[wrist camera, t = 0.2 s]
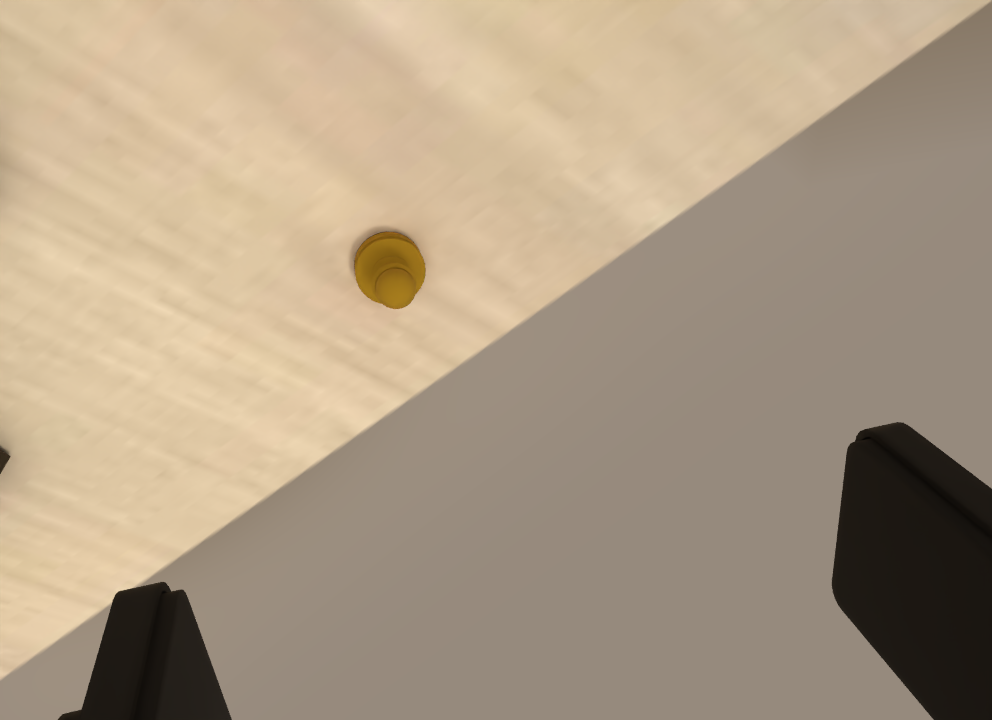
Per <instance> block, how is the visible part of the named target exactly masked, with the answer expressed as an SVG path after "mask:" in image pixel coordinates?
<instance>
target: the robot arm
mask: <svg viewBox="0 0 992 720" xmlns="http://www.w3.org/2000/svg"><path fill="white" fill-rule="evenodd" d="M832 589H833V594H834V597H835V599H836V601H837V603H838V605H839V607H840V608H841V609H842V611H843V612H844V613H845V614H846V615H847V617H848V618H849V619H850V620H851V621H852V622H853V624H854V625H855V626H856V627H857V629H858V630H859V631H860V632H861V633H862V635H863V636H864V637H865V638H866V639H867V641H868V642H869V643H870V644H871V645H872V647H873V648H874V649H875V650H876V651H877V652H878V654H879V655H880V656H881V657H882V658H883V659H884V661H885V662H886V663H887V664H888V665H889V667H890V668H891V669H892V670H893V672H894V673H895V674H896V675H897V676H898V678H899V679H900V680H901V681H902V682H903V684H905V686H906V687H907V688H908V689H909V691H910V692H911V693H912V694H913V695H914V697H915V698H916V699H917V700H918V701H919V703H921V705H922V706H923V707H924V709H925V710H926V711H927V712H928V713H929V715H930V716H931V717H932V718H933V719H934V720H992V489H991V488H990V487H989V486H987V485H986V484H985V483H983V482H982V481H981V480H979V479H978V478H977V477H975V476H974V475H973V474H972V473H970V472H969V471H967V470H966V469H965V468H964V467H962V466H961V465H960V464H958V463H957V462H956V461H954V460H953V459H952V458H950V457H949V456H948V455H946V454H945V453H944V452H943V451H941V450H940V449H939V448H937V447H936V446H935V445H933V444H932V443H931V442H929V441H928V440H927V439H926V438H924V437H923V436H922V435H920V434H919V433H918V432H916V431H915V430H914V429H912V428H911V427H910V426H908V425H906V424H904V423H899V422H897V423H892V424H888V425H882V426H878V427H873V428H869V429H865V430H862V431H860V432H859V433H858V435H857V436H856V440H855V442H853V443H851V444H850V445H849V447H848V449H847V455H846V464H845V472H844V481H843V490H842V498H841V507H840V517H839V525H838V533H837V542H836V551H835V559H834V568H833V577H832ZM58 720H232V719H231V717H230V714H229V711H228V708H227V705H226V703H225V700H224V697H223V694H222V692H221V689H220V686H219V683H218V680H217V678H216V675H215V672H214V669H213V666H212V664H211V661H210V658H209V655H208V653H207V650H206V647H205V644H204V641H203V639H202V636H201V633H200V630H199V628H198V625H197V622H196V619H195V616H194V614H193V611H192V608H191V605H190V603H189V600H188V597H187V595H186V593H185V592H184V590H177V591H172V592H171V590H170V588H169V586H168V585H167V584H166V583H165V582H160V583H155V584H151V585H146V586H141V587H137V588H132V589H127V590H123V591H119V592H118V593H116V595H115V597H114V599H113V602H112V606H111V609H110V613H109V617H108V620H107V623H106V627H105V630H104V634H103V637H102V641H101V644H100V648H99V652H98V655H97V658H96V662H95V665H94V669H93V672H92V676H91V679H90V683H89V686H88V690H87V693H86V697H85V700H84V704H83V707H82V710H78V711H74V712H70V713H66V714H63V715H62V716H61V717H60V718H59V719H58Z"/></svg>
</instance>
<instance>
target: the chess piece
mask: <svg viewBox="0 0 992 720" xmlns="http://www.w3.org/2000/svg"><path fill="white" fill-rule="evenodd" d="M354 267H355V275H356V281H357V283H358V286H359V288H360V289H361V291H362V292H363V293H364V294H365V295H366V296H367V297H368V298H370V299H371V300H373V301H375V302H378V303H381V304H383V305H385V306H386V307H389V308H392V309H400V308H403V307H405V306H407V305H408V304H410V303H411V301H412V300H413V298H414V296H415V294H416V293H417V292H418V291H419V289H420V288H421V286H422V284H423V282H424V278H425V263H424V260H423V257H422V256H421V254H420V251H419V249H418V248H417V246H416V245H415V244H414V242H413V241H412V240H410V239H409V238H408V237H406V236H404V235H402V234H399V233H395V232H383V233H379V234H376V235H373V236H372V237H370V238H368V239H367V240H366V241H365V242H364V243H363V244H362V245H361V246H360V248H359V249H358V251H357V253H356V257H355V264H354Z"/></svg>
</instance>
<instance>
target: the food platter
mask: <svg viewBox="0 0 992 720" xmlns="http://www.w3.org/2000/svg"><path fill="white" fill-rule="evenodd" d="M9 458H10V456H9V455H7V454H6V453H4V452H3V451H1V450H0V474H1V472H2V470H3V468H4V467H5V465H6V463H7V461H8V460H9Z"/></svg>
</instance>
